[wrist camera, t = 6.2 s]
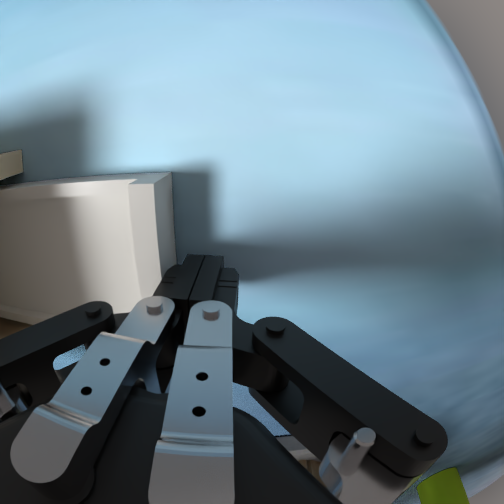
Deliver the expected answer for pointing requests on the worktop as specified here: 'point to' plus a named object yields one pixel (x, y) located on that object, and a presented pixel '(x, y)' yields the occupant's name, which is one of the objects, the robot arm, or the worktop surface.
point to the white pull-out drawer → (83, 243)
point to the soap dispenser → (443, 488)
